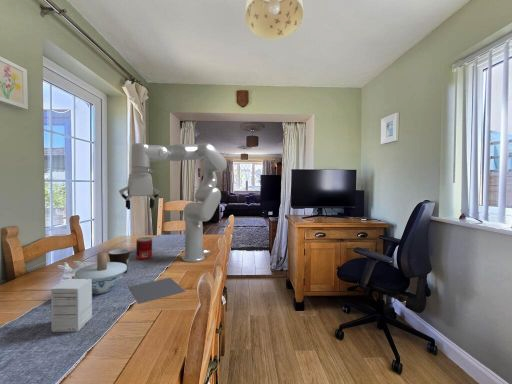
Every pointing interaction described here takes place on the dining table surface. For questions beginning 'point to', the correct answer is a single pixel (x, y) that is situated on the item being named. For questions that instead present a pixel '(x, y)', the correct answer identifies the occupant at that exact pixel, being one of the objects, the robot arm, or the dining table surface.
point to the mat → (155, 290)
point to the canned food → (144, 248)
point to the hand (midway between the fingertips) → (140, 208)
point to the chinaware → (105, 284)
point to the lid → (101, 269)
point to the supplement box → (71, 305)
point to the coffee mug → (120, 256)
